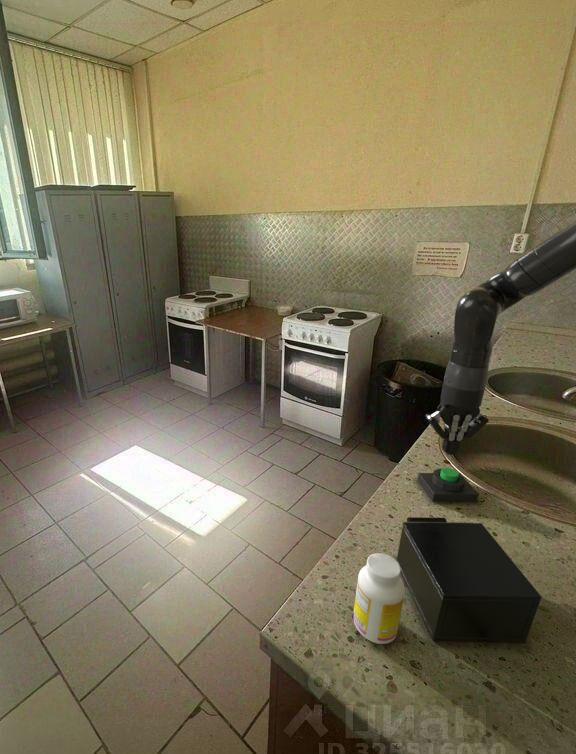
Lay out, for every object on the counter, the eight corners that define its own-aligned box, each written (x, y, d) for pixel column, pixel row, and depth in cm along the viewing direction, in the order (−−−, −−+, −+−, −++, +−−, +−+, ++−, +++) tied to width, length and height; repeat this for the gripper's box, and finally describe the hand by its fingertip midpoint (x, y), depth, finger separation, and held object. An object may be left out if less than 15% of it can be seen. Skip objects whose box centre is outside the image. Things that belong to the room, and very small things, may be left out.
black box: (395, 563, 75) (403, 522, 71) (470, 564, 74) (481, 522, 71) (432, 641, 61) (443, 595, 57) (525, 643, 60) (542, 596, 57)
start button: (452, 473, 94) (453, 467, 94) (460, 482, 91) (462, 476, 90) (437, 473, 94) (438, 467, 94) (444, 482, 91) (445, 476, 90)
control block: (458, 480, 97) (461, 466, 96) (477, 502, 90) (480, 487, 88) (417, 480, 98) (419, 466, 96) (432, 501, 90) (435, 487, 89)
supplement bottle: (400, 619, 64) (412, 559, 60) (391, 654, 59) (404, 592, 55) (359, 599, 68) (367, 541, 63) (347, 631, 63) (355, 570, 58)
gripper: (441, 389, 80) (427, 462, 86) (508, 389, 79) (489, 462, 85) (424, 376, 87) (412, 444, 93) (485, 375, 86) (469, 443, 92)
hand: (449, 452), depth 89 cm, fingers closed
